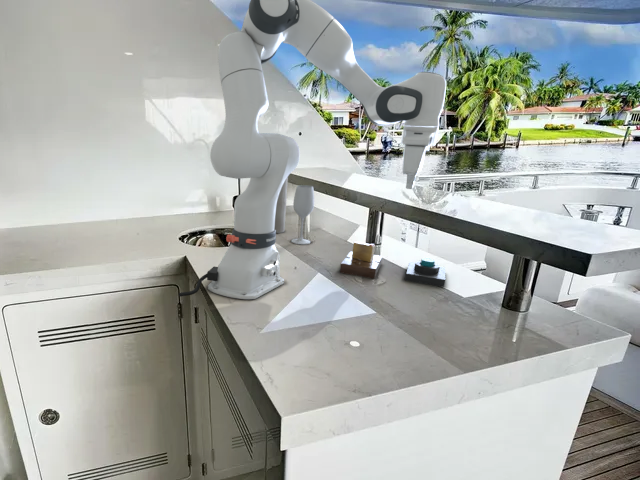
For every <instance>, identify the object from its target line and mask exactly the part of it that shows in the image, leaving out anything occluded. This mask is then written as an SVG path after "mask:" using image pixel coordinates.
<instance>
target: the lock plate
mask: <svg viewBox="0 0 640 480" xmlns="http://www.w3.org/2000/svg"><path fill="white" fill-rule="evenodd" d="M352 253H353V251H349V252H348V253H347V255H346V256H345V258H343V260H342V262H341V263H340V268H339V273H340V274H344V275H345V274H346V275H352V276H356V277H357V276H358V277H362V278H368V279H375V278H376V276H377V274H378V272H379V270H380V268H381V266H382V261H383V255H378V254H374V257H373V261H372V262H367V261H363V260H359V259H354V258H352Z"/></svg>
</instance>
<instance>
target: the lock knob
mask: <svg viewBox="0 0 640 480" xmlns="http://www.w3.org/2000/svg"><path fill="white" fill-rule="evenodd" d="M375 249H376V244H375V243H367V242H362V241H357V240H356V241H354V242H353V246H352V252H353V253H352V258H354V259H359V260H363V261H367V262H372V261H373V257H374V255H375V251H376V250H375Z"/></svg>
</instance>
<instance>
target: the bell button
mask: <svg viewBox="0 0 640 480" xmlns="http://www.w3.org/2000/svg"><path fill="white" fill-rule="evenodd" d="M420 261H421V265H423V266H427V267H434V264H435V263H436V260H435V259H433V258H428V257H422V258H421V260H420Z"/></svg>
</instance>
